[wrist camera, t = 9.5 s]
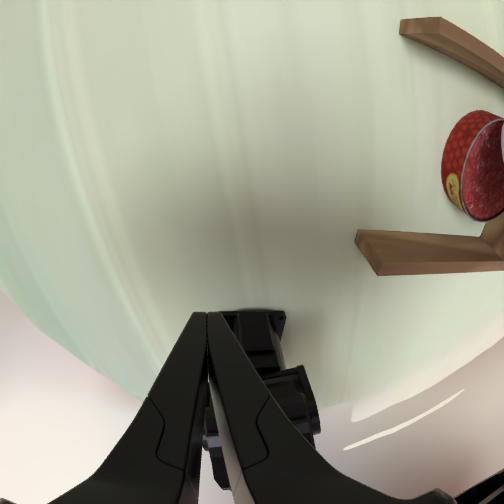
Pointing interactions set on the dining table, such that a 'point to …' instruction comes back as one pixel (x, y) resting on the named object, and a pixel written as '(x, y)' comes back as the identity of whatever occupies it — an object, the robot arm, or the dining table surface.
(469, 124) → the canned food
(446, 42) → the shelf bay
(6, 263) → the dining table surface
